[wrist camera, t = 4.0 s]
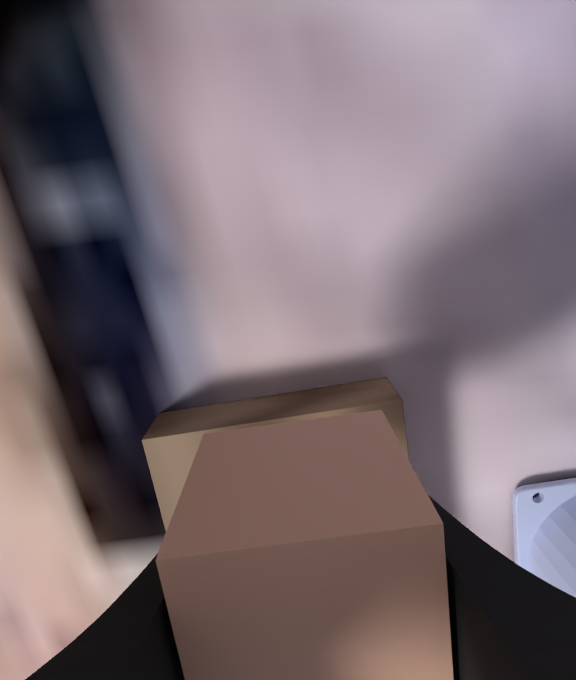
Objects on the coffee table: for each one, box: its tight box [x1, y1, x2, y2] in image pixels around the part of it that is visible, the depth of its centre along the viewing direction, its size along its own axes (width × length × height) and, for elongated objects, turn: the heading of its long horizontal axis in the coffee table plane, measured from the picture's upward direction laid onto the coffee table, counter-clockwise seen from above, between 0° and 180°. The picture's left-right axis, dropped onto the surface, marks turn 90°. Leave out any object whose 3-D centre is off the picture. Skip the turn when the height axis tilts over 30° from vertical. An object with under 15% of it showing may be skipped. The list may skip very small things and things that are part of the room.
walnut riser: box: [142, 377, 408, 531], centre depth 20 cm, size 10×10×3 cm
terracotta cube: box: [156, 410, 454, 680], centre depth 11 cm, size 5×5×5 cm
